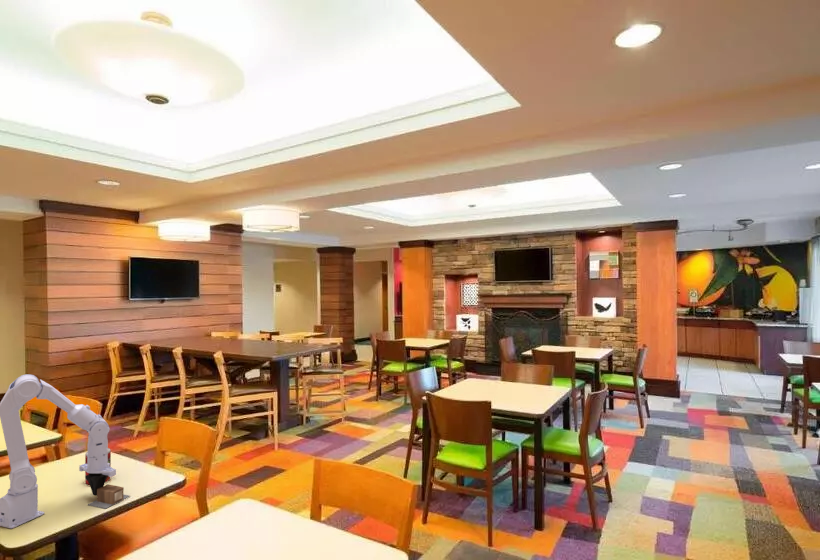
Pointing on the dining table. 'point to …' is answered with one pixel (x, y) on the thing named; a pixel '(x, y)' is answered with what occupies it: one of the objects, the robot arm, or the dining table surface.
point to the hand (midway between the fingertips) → (97, 494)
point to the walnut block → (110, 494)
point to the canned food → (108, 462)
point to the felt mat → (104, 505)
